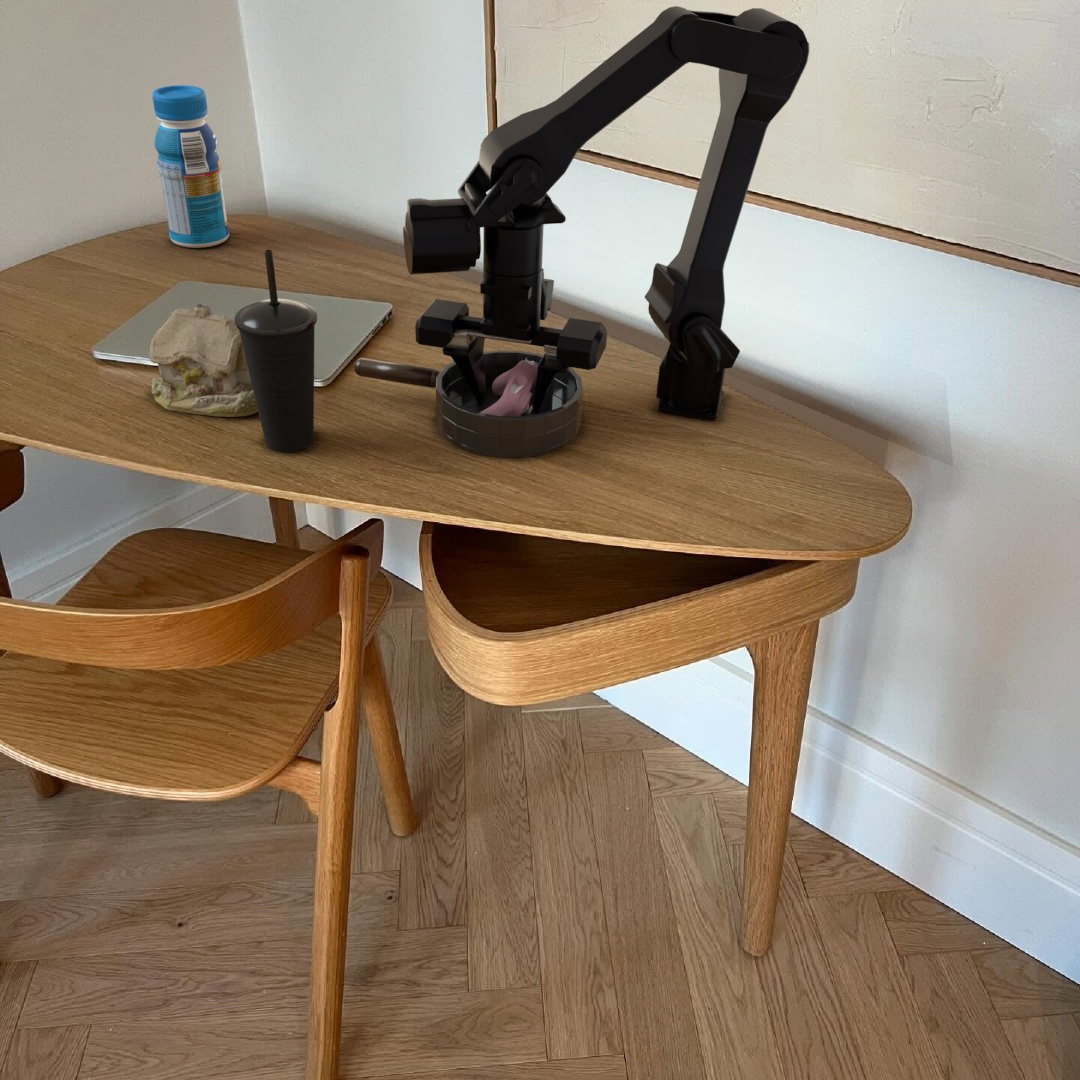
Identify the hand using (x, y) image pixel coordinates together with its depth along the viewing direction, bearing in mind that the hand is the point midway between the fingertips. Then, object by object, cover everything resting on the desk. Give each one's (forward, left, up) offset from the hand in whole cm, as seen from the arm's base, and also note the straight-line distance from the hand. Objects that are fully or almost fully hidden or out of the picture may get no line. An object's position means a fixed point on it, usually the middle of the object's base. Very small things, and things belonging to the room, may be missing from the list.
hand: (509, 407), depth 115 cm
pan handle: (+12, 0, +1) cm, 12 cm away
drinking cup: (+20, +11, -2) cm, 23 cm away
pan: (0, 0, -2) cm, 2 cm away
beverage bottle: (+56, -36, -2) cm, 67 cm away
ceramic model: (+32, +4, -2) cm, 32 cm away
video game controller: (0, 0, -1) cm, 1 cm away
